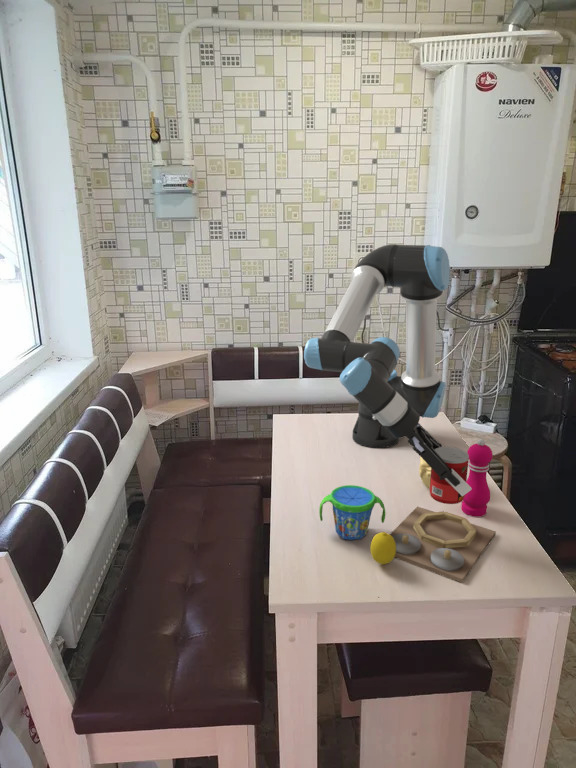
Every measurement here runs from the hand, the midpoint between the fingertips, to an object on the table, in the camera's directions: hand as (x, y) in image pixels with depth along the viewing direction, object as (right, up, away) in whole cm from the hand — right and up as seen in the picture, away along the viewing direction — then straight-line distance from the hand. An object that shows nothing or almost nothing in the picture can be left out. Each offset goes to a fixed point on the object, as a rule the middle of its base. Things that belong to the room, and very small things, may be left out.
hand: (463, 483), depth 136 cm
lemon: (-20, -17, -6) cm, 27 cm away
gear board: (-5, -14, +2) cm, 15 cm away
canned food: (-3, -4, +2) cm, 5 cm away
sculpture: (+2, -6, +28) cm, 28 cm away
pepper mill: (+7, -10, +16) cm, 20 cm away
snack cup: (-25, -13, +6) cm, 29 cm away
